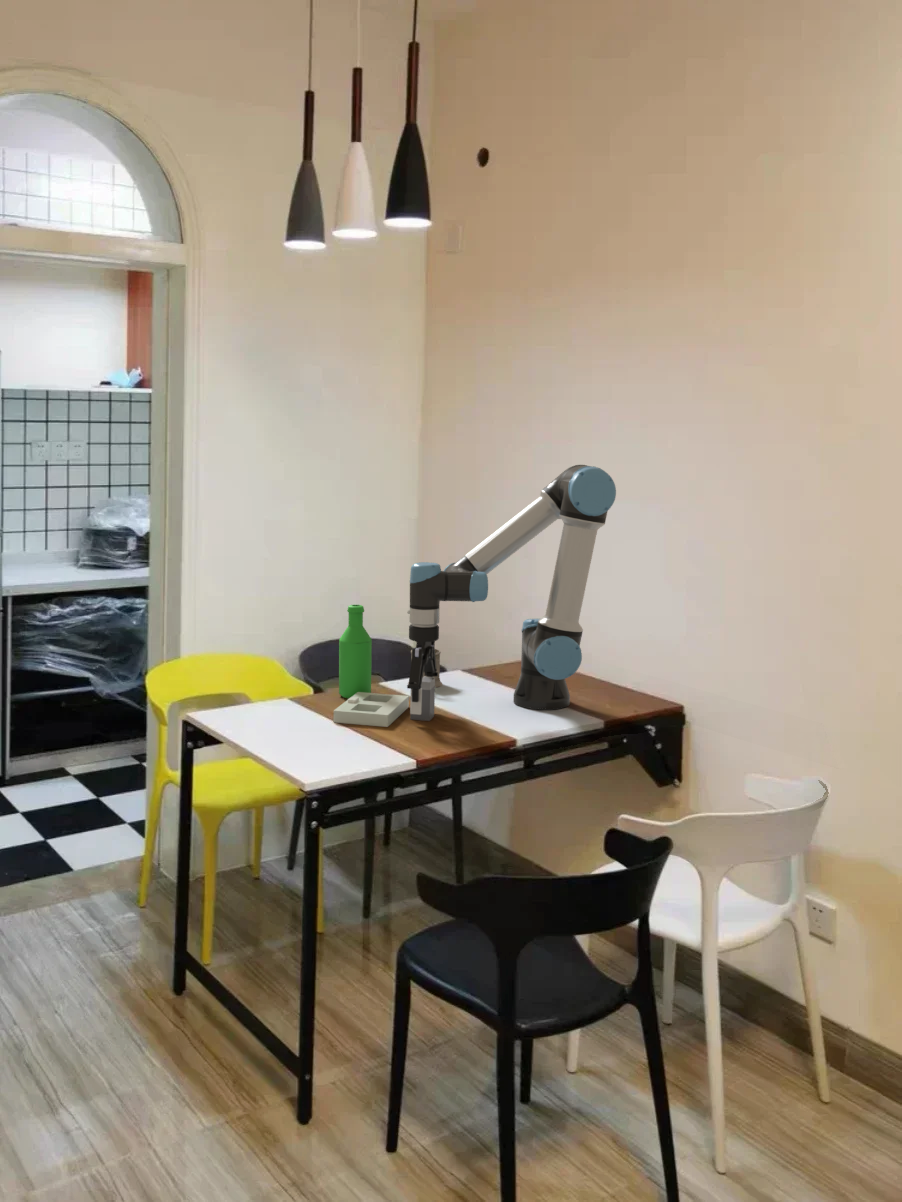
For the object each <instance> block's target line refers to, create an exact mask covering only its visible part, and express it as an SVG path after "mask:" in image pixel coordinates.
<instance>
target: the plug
mask: <svg viewBox="0 0 902 1202" xmlns="http://www.w3.org/2000/svg"><path fill="white" fill-rule="evenodd" d="M421 688H422V714H421V715H418V714H410V713H409V714H410V716H409V717H410V720H414V721H415V720H416V721H425V722H426V721H427V722H430V721H431V720H432V719H433V718H434V717H435V705H436V704H435V699H436V696H435V692H436V688H435V678H430V677H423V678H422V684H421Z"/></svg>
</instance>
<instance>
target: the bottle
mask: <svg viewBox="0 0 902 1202" xmlns="http://www.w3.org/2000/svg"><path fill="white" fill-rule="evenodd" d="M364 612H365V607H364V605H362V604H351V605H347V613H348V620H347V621H348V624H347V627H346V629H345V630H344V631H343V633H342V634H341V636H340V638H339V639H338V641H339V642H338V646H339V647H338V649H339V650H338V657H339V658H338V665H339V666H338V693H339V695H340V696H341V697H343V698H344V699H347V700H348V699H349V698H350V697H352V696H353V695H355V694H356V693H357V692H365V693H372V646H373V645H372V644H373V643H372V642H373V641H372V637H371V636H370V634H369V633H368V631H367V630H366V628H365V627H364Z"/></svg>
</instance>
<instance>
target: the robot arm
mask: <svg viewBox="0 0 902 1202" xmlns="http://www.w3.org/2000/svg"><path fill="white" fill-rule="evenodd" d="M616 488H617V487H616V483H615V481H614V479H613V478H612V476H611V475H610V474H609V473H607V472H606V471H605V470H604V469H602V468H601V467H597V466H593V465H592V466H591V465H585V464H575V465H573V466H569V467H568V468H566V469H565V470H563V471H562V472H561V473H560V474H559V475H558V476H556V477H555V478H554V479H553V480H552V481H551V482H549V483H548V484H547V485H546V486H545V487H544V488H542V489H541V490H540V493H539V497H537V498H535V499H534V500H533V501H532V502H530V503H529V504H528V505H526V507H524V508H523V509H521V510H520V512H518V513H517V514H515V516H513V517H511V519H509V520H508V521H506V522H505V523H504V524H503V525H502V526H500V527H499V528H498V529H497V530H495V531H494V532H492V533H491V534H490V535H489V536H488V537H486V538H485V539H483V540H482V542H480V543H478V544H477V545H476V546H475V547H474V548H472V549H471V550H470V551H468V552H467V553H466V554H465V555H464V556H462V557H461V558H460V559H458V560H457V561H456V562H452V563H450V564H448V565H447V566H446V567H445V568H444V569H443V570H442V569H441V568H442V567H441V565H440V564H439V563H438V562H428V561H426V562H425V561H421V562H415V563H413V564H412V565H411V568H410V575H409V609H408V610H407V614H409V622H408V623H410V625H408V638H409V640H410V641H412V642H415V643H416V644H415V647H413V648H412V649H411V650H412V661H410V662H411V663H410V669H409V670H410V671H409V677H408V682H409V684H408V683H407V685H406V688H407V689H410V698H409V701H410V702H409V709H410V710H409V714H418V715H421V714H422V688H421V684H422V678H423V673H425V676H424V677H430V678H434V677H433V676H438V672H436V671H437V667H436V657H435V649H436V647H435V644H436V641H438V640H439V639H440V638H439V637H440V626H439V625H438V624H439V623H440V608H441V607H440V602H472V603H475V602H484V601H486V600H487V598H488V595H489V579H488V578H489V577H488V574H489V573H490V572H492V571H493V570H495V569H496V568H497V567H498V566H500V565H501V564H502V563H503V562H505V561H506V560H507V559H508V558H510V557H511V556H513V554H515V553H516V552H517V551H519V550H520V549H521V548H522V547H524V546H525V545H526V544H528V543H529V542H530V541H532V539H535V537H536V536H538V535H539V534H541V533H542V532H543V531H544V530H546V529H547V528H548V527H550V525H553V523H555V522H556V521H557V520H562V522H563V526H562V532H561V536H560V541H559V546H558V550H557V551H558V552H557V556H556V561H555V566H554V571H553V575H552V581H551V587H550V592H549V596H548V601H547V605H546V609H545V611H546V612H545V615H544V616H542V617H541V618H526V619H524V621H522V627H521V659H520V660H521V661H520V665H521V666H520V675H519V679H518V681H517V684H516V686H515V688H514V692H513V703H514V704H515V705H516V706H518V707H519V706H520V707H522V708H526V709H533V710H559V709H564V708H566V707H567V708H568V707H569V705H570V703H571V695H570V691H569V689H568V685H567V681H566V679H568V678H570V677H571V676H573V675H574V674H575V673H576V672H577V671H578V670H579V668H580V666H581V664H582V660H583V653H582V648H581V647H580V646H581V642H582V636H583V631H584V629H583V627H582V626H581V624H580V622H579V621H580V616H581V612H582V606H583V603H584V602H583V601H584V598H585V597H584V596H585V591H586V586H587V583H588V578H589V574H590V573H589V572H590V569H591V562H592V558H593V555H594V554H593V553H594V549H595V544H596V538H597V534H598V530H599V529H600V528H602V527H604V526H605V524H606V520H607V516H608V511H609V510H610V509H611V508H612V506H613V505H614V503H615V500H616V497H617V489H616Z"/></svg>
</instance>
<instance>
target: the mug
mask: <svg viewBox="0 0 902 1202" xmlns="http://www.w3.org/2000/svg"><path fill="white" fill-rule="evenodd" d="M441 653H442V651H441V650H440V649H437V648H435V657H436V667H437V671H436V672H438V676H433V677H434V678H435V689H436V688H440V687H441V686H443V682H442V681H441V677H440V675H441V674H440V673H441V672H440V670H441V659H440V657H441ZM410 654H411V655H410V656H411V659H410V660H411V661H412V649H411V650H410ZM411 661H410V662H411ZM424 676H425V673H423V677H424ZM408 684H409V681H408V682H407V685H408Z"/></svg>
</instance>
